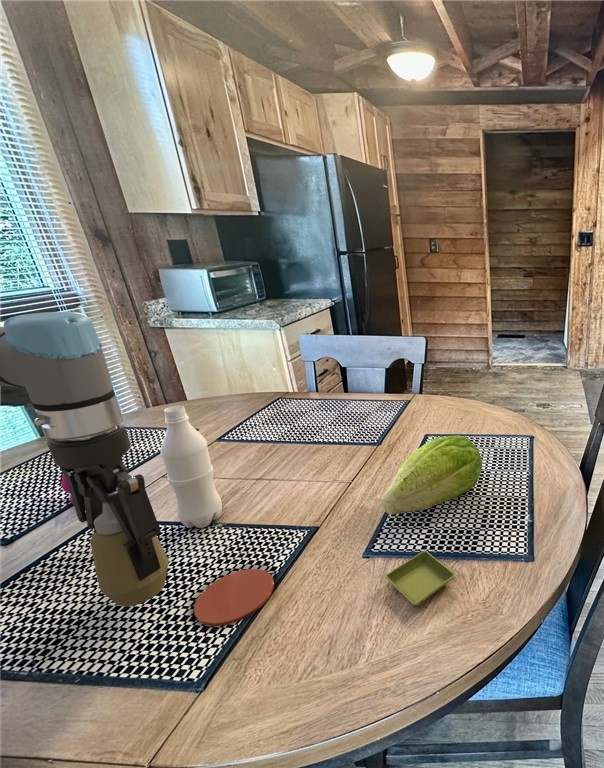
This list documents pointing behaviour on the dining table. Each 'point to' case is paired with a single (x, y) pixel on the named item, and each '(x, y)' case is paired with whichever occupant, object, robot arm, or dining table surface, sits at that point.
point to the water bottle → (189, 470)
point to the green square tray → (420, 577)
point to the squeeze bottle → (122, 563)
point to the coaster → (234, 597)
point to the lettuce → (434, 475)
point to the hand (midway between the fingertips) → (133, 566)
